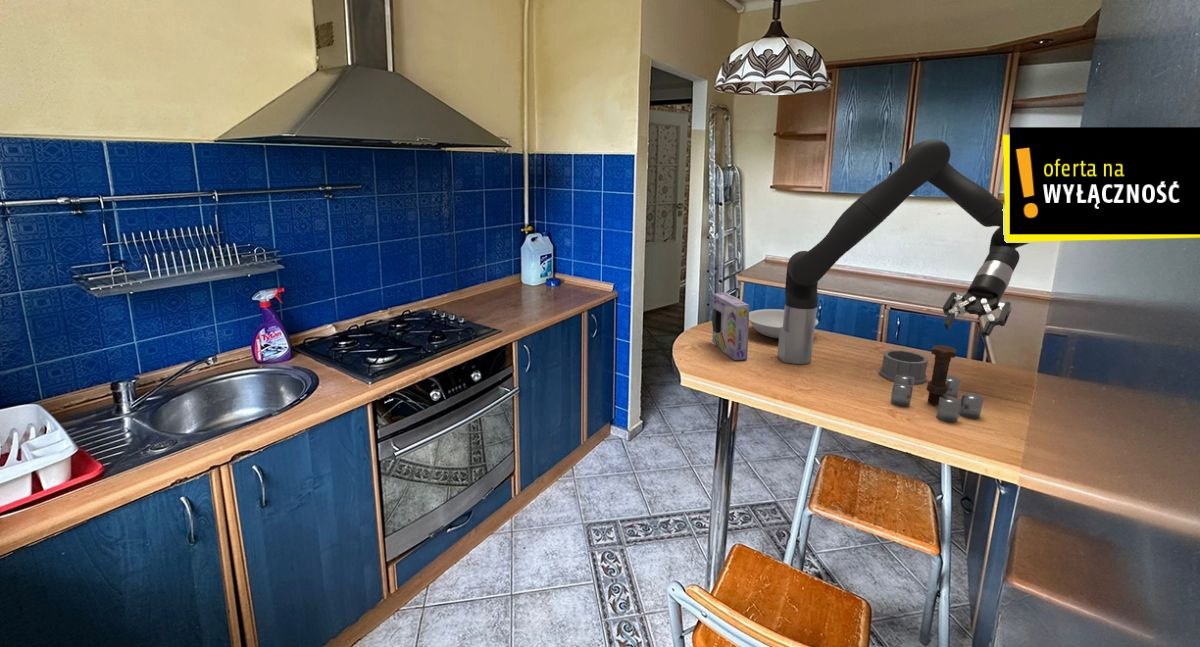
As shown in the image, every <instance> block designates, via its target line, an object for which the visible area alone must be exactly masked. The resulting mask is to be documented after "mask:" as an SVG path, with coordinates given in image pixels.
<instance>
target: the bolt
mask: <svg viewBox="0 0 1200 647" xmlns="http://www.w3.org/2000/svg"><path fill="white" fill-rule="evenodd" d="M930 353H931V355H934V364H933V369H932V375H931V379H930V380H931V381H928V382H927V386H926V390H927V391H928V397H927V403H928V404H929V405H931V406H932V407H938V404H939V399H940V397H941V396H943V395H944V394H946V393H947V389H948V385H946V379H947V376H948V373H949V368H950V362H951V360H952V358H953V359H955V358H956V356H957V353H958V352H957V349H956V348H954V347H953V346H949V345H942V344H938V345H933V346H932V348H931V352H930Z"/></svg>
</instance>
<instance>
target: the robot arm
mask: <svg viewBox="0 0 1200 647" xmlns="http://www.w3.org/2000/svg"><path fill="white" fill-rule="evenodd" d="M950 158H951V148H950V146H949V145H948V144H947V143H946V142H945V141H943V140H940V139H927V140H923V141H919V142H917V143H915V144H913V145H912V146H911V147H909V149H908V150H907V152H906V154H905V156H904V162H903V163H902V164H901V165H900V166H899V168H897V169H896V170H895V171H894V172H893V173H892V174H891V175H889V176H888V177H887V178H885V179H884V180H882V181H881V182H879V183H878V184H876V185H875V186H873V187H872V188H871V189H869V190H867V191H865V193H864V194H862V195H860V197H858V198H857V199H856V200H855V201H854V202H853V203H852V204H850V205H849V207H847V208H846V209H845V210H844V211H843V213H842V214H841V215H840V216H839V217H838V219H836V222H835V223H834V224H833V226H832V227H831V228H830V230H829V231H828V233H827V234H825V236H824V237H823V238H822V239H821V240H820V241H818V243H817V244H816V245H814V247H812V248H811V249H809V250H800V251H797V252H795V253H794V254H792V256H791V257H790V258H789V259H788V262H787V266H786V275H785V276H786V277H785V286H784V290H785V291H784V295H785V301H784V309H783V310H784V318H783V327H780V335H779V339H778V345H777V346H778V347H777V357H778V358H779V360H780V361H781V362H783V363H787V364H792V365H806V364H810V363H811V361H812V354H813V346H814V339H815V329H816V326H815V322H816V319H817V312H818V305H819V295H818V284H819V281H820V280H821V279H822V278H823V277H824V276H825V275H826V274H827V273H828V272H829V270H830V269H831V268H832V267H833V266H834V265H835V264H836V263H838V261H839V259H841V258H842V257H843V256H844V255H845V254H846V253H847V252H849V251H850V250H851V249H852V248H854V247H855V246H857V245H858V243H860V242H861V241H862V240H863V239H864V238H866V237H867V236H868V235H869V234H870V233H872V232H873V231H874V230H875V229H877V227H878V226H880V224H882V223H883V222H884V221H885V220H886V219H887V218H888V217H889V216H890V215H892V213H893V212H895V210H896V209H897V208H898V207H899V206H901V204H902V203H903V202H904V201H905V200H906V199H908V197H909V196H910V195H911V194H913V193H914V192H915V191H917V189H919V188H920V187H922V186H923V185H924V184H925V183H927V182H928V183H930V184H931V185H932V186H933V187H935V188H937V189H939V190H940V191H941V192H942V193H944V194H945V195H946V196H947V197H948V198H950V200H952V201H953V202H954V203H956V204H957V205H958V206H959V207H960V208H961V209H963V210H964V211H965V212H966V213H967V214H968V215H969V216H971V218H972V219H974V220H975V221H976V222H978V223H979V224H980V225H981V226H982V227H986V228H991V227H992V228H993V227H998V228H996V229H995V231H994V232H993V233H992V236H991V239H990V244H989V247H988V248H989V249H988V251H989V252H988V254H987V256H986V258H985V260H984V261H983V264H982V265H981V266H980V268H979V269H978V271H977V272H976V274H975V276H974V278H973V280H972V282H971V283H970V285H969V288H968V289H967V291H966V293H965V294H963V295H959V294H957V293H956V292H955V291H954V292H951V293H950V295H949V296H948V298H947V300H946V301H945V303H944V305H943V306H942V311H943V314H944V315H945V319H944V321H943V326H944V327H945V329H946V330H950V329H951V328H952V325H953V323H954V322H955V320H956V319H955V318H957V317H959V316H963V315H965V314H967V313H968V314H969V315H976V316H979V317H982V316H985V317H986V319H987V320H986V323H985V325H984V327H983V328H982V330H981V332H980V333H981V337H983V338H984V339H985V338H987V337H989V336H990V335H991V333H992V331H993V330H994V329H995V326H1000V327H1005V326H1006V323H1007V321H1008V320H1009V319H1008V318H1009V316H1010V313H1011V312H1012V305H1011V304H1012V303H1011V302H1010V301H1006V302H1000V301H1001V299H1002V297H1003V295H1004V294H1005V291H1006V289H1007V288H1008V286H1009V284H1010V282H1011V279H1012V275H1013V273H1014V271H1015V269H1016V267H1017V266H1018V263H1019V261H1020V253H1019V251H1018V250H1017V248H1020V247H1023V246H1026V245H1028V244H1030V243H1006V242H1005V241H1004V235H1003V211H1002V209H1003V204H1004V203H1003V202H1002V201H1001V200H999V199H998V197H996V196H995V195H994V194H992V193H991V192H990V191H988V190H987V189H986V188H985V187H983V186H981V185H980V184H978V183H977V182H975V181H973V180H971V179H970V178H968V177H966V176H965V175H963V174H962V173H961V172H959V171H958V170H957V169H956V168H954V167H953V166H952V164H950V163H949V162H950V160H951V159H950ZM959 302H961V303H959ZM955 305H956V306H955ZM998 308H999V310H1000V311H1001V312H1000V314H999V316H998V317H995V316H994V314H993V311H996V310H997V309H998Z"/></svg>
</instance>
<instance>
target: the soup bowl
mask: <svg viewBox="0 0 1200 647" xmlns="http://www.w3.org/2000/svg"><path fill="white" fill-rule="evenodd" d="M783 318H784V309H779V308H778V309H776V308H774V309H773V308H768V309H767V308H766V309H765V308H764V309H756V310H752V311H749V322H750V324H751V325H752V327H753V328H754V329H755V331H757V332H758V333H760V334H761V335H763V336H765V337H769V338H772V339H773V338H774V339H778V340H779V335H780V327H783ZM818 324H819V320H818V318H816V322H815V327H816V326H817V325H818Z"/></svg>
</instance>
